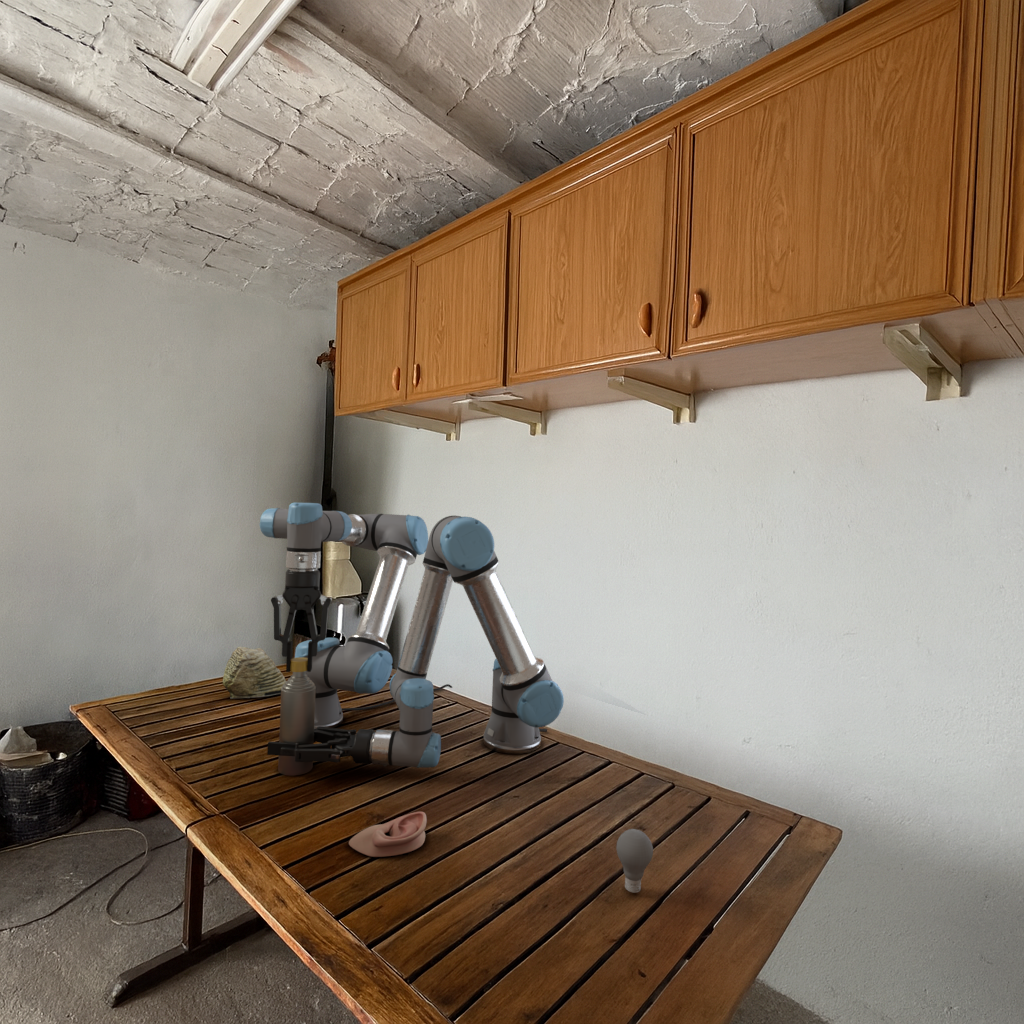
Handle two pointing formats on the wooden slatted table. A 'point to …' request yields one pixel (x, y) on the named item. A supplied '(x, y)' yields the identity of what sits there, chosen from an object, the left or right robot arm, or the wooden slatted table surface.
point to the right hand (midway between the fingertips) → (275, 741)
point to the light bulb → (634, 857)
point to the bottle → (296, 720)
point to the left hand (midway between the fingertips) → (299, 670)
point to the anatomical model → (392, 836)
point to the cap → (298, 664)
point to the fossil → (252, 674)
